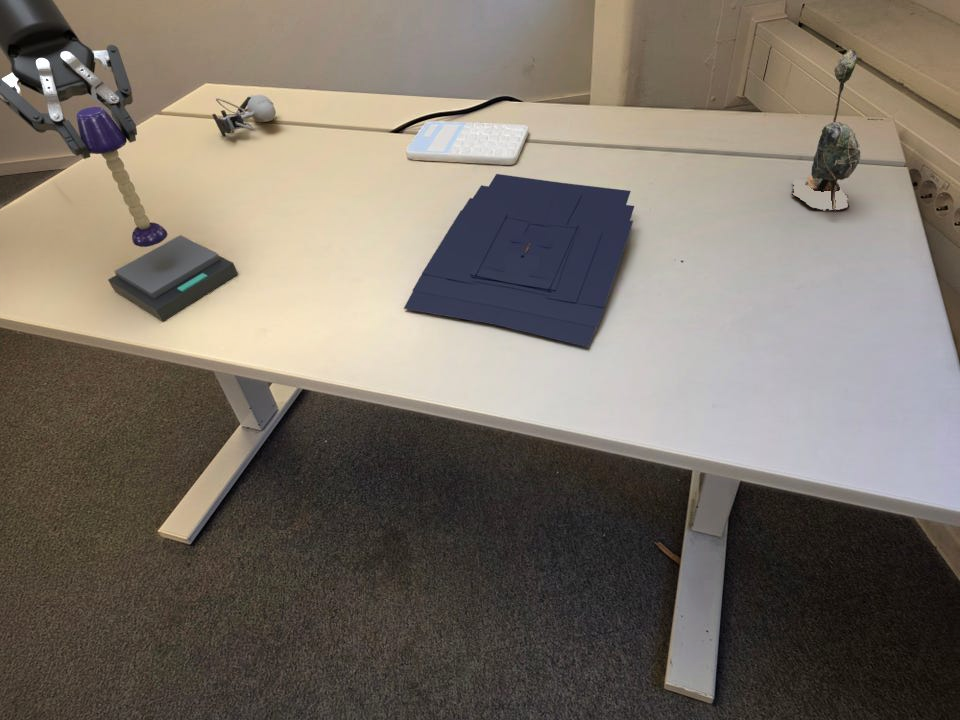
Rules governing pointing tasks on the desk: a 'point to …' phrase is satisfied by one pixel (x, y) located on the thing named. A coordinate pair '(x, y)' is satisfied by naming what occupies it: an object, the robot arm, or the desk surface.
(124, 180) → the toy lamp
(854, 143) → the grey stone sculpture
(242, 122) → the clip-on lamp
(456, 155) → the calculator
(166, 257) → the scale
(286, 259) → the desk surface
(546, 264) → the navy flat block
